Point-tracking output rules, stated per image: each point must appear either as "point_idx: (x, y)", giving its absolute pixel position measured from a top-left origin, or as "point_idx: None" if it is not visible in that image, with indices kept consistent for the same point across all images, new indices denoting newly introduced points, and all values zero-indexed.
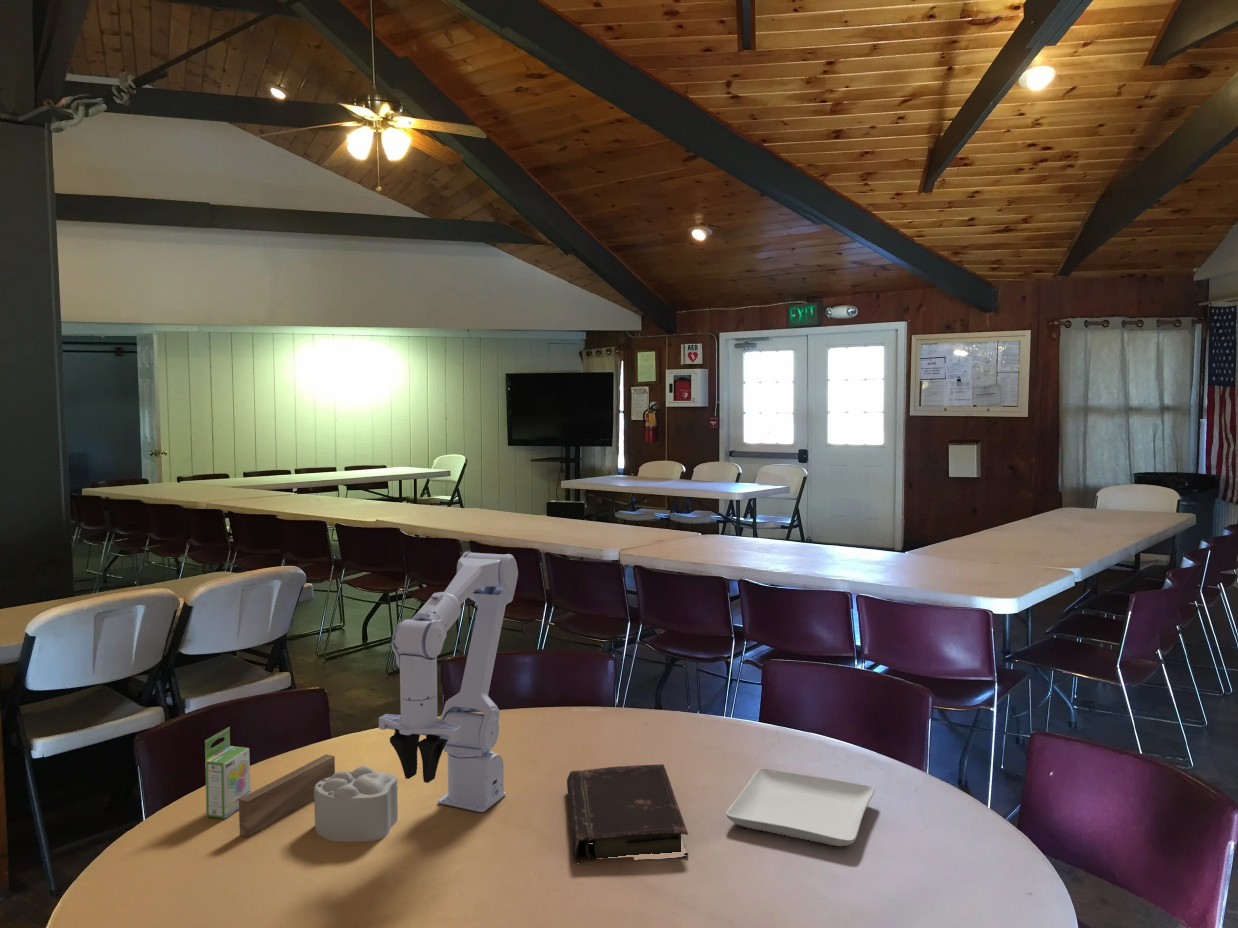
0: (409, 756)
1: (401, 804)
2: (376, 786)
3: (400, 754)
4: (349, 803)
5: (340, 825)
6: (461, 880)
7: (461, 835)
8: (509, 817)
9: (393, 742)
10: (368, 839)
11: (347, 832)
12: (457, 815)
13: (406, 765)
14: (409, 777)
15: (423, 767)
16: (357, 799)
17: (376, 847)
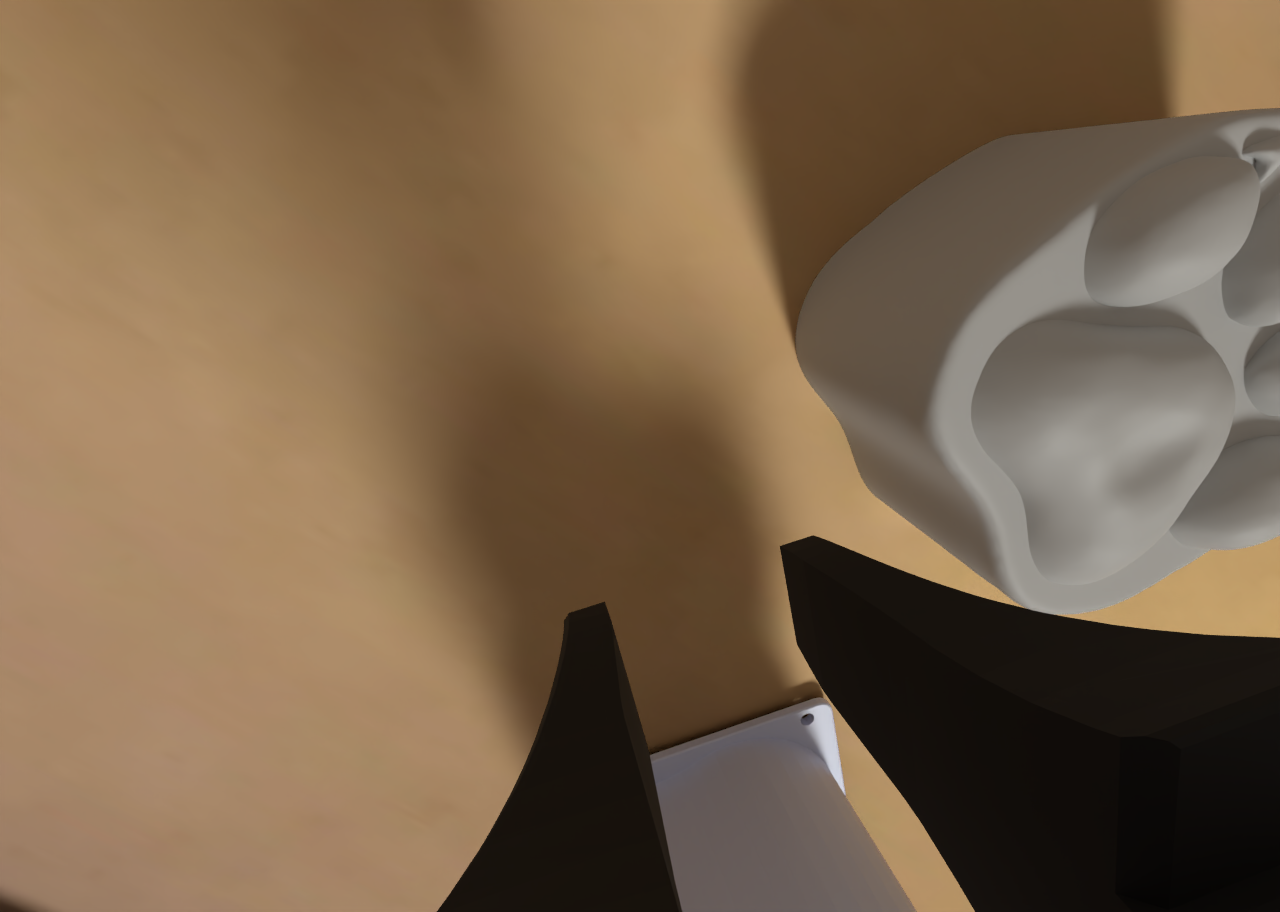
0: (908, 703)
1: (956, 583)
2: (1030, 407)
3: (989, 627)
4: (1069, 192)
5: (1012, 157)
6: (39, 308)
7: (486, 600)
8: (448, 835)
9: (1239, 667)
10: (835, 259)
11: (950, 183)
12: (662, 692)
13: (851, 599)
14: (786, 562)
15: (605, 683)
16: (1043, 233)
17: (745, 241)
